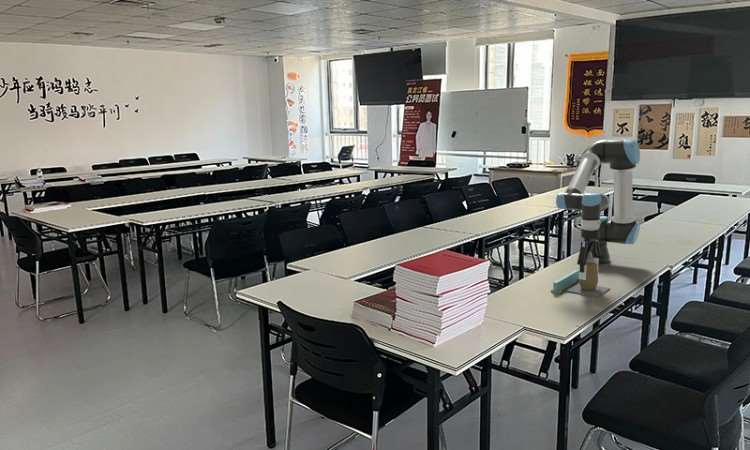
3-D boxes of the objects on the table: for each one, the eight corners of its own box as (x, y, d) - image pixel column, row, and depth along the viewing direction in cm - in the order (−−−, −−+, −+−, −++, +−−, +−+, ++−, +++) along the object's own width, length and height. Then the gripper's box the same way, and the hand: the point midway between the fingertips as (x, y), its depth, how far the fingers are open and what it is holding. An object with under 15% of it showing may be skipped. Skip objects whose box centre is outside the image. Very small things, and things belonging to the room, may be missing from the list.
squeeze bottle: (581, 285, 252) (582, 247, 249) (600, 288, 248) (601, 248, 244) (576, 290, 246) (577, 251, 242) (595, 293, 241) (596, 253, 238)
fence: (550, 292, 246) (550, 281, 245) (573, 279, 264) (573, 269, 263) (559, 294, 244) (559, 283, 243) (581, 280, 261) (581, 270, 260)
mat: (566, 291, 247) (566, 290, 246) (579, 283, 257) (579, 282, 256) (597, 297, 237) (597, 296, 237) (610, 289, 247) (610, 288, 247)
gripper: (587, 235, 230) (585, 284, 234) (609, 224, 248) (607, 270, 252) (569, 232, 235) (568, 281, 239) (593, 222, 253) (591, 267, 257)
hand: (588, 275), depth 246 cm, fingers open, 13 cm apart
